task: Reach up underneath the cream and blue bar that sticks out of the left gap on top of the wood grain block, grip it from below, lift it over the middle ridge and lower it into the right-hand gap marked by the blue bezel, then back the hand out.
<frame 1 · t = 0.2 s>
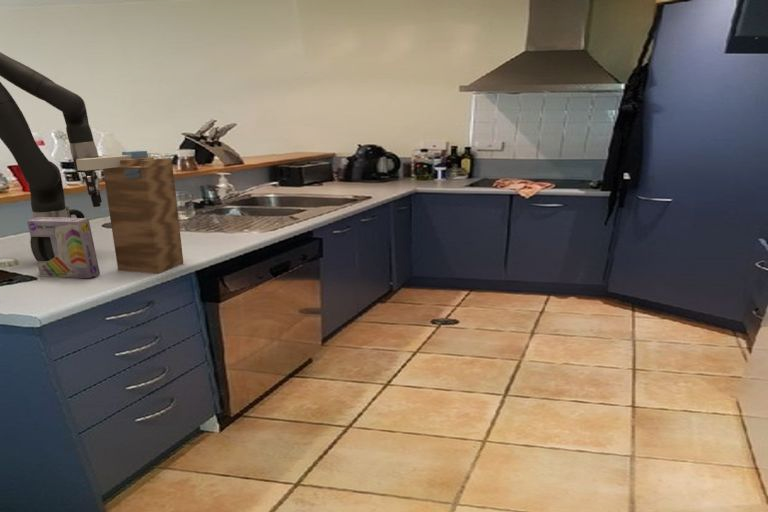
hand: (97, 204, 171), 18 cm above the countertop, tool pointing down, fingers open, 8 cm apart
milk frother: (61, 245, 191), on the countertop
cake pan box: (68, 276, 153), on the countertop
wood grain block: (151, 266, 161), on the countertop
cream and blue bar: (116, 166, 150), point 32 cm above the countertop, touching wood grain block
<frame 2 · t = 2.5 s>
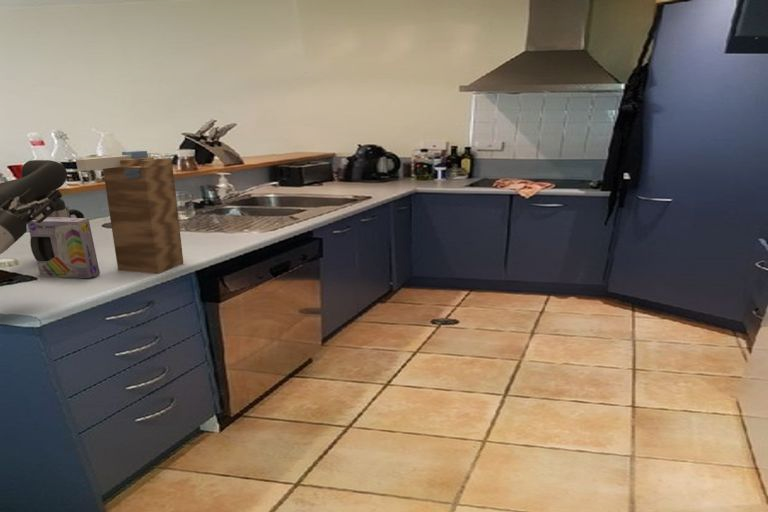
hand: (46, 191, 129), 28 cm above the countertop, tool pointing upward, fingers open, 8 cm apart
nothing on the countertop moved.
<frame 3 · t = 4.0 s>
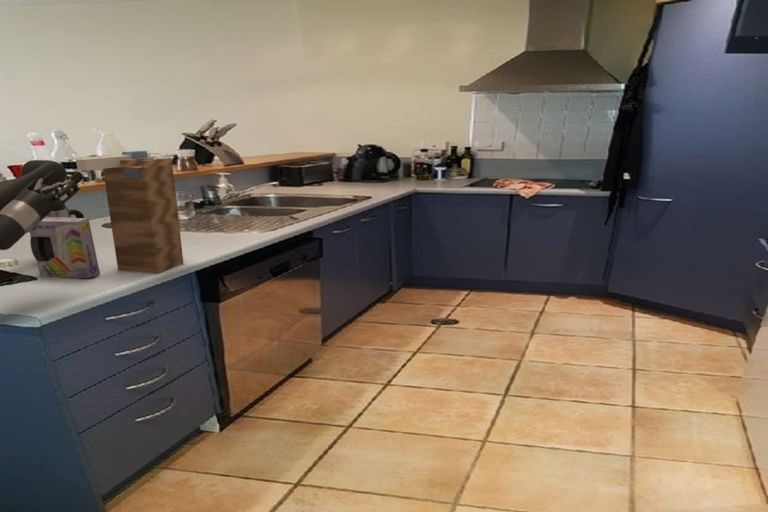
hand: (68, 174, 135), 31 cm above the countertop, tool pointing upward, fingers open, 8 cm apart
nothing on the countertop moved.
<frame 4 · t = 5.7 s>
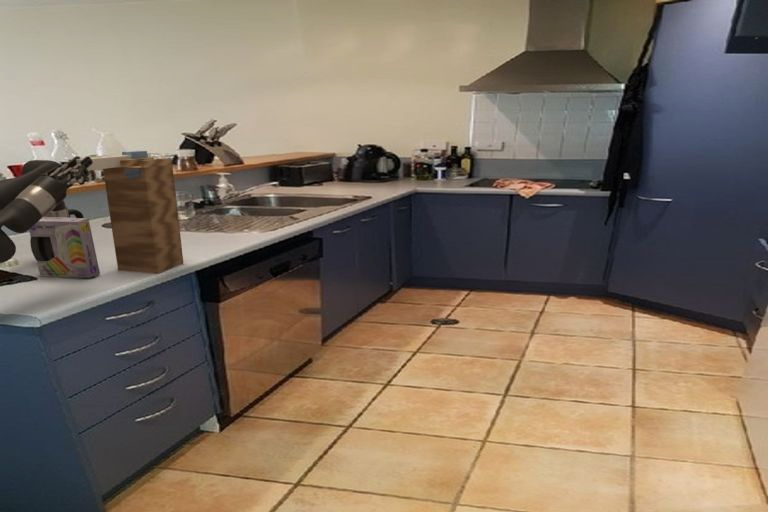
hand: (84, 159, 139), 35 cm above the countertop, tool pointing upward, fingers closed on cream and blue bar, 3 cm apart
cream and blue bar: (116, 166, 150), point 32 cm above the countertop, touching wood grain block, gripper
everything else where it was.
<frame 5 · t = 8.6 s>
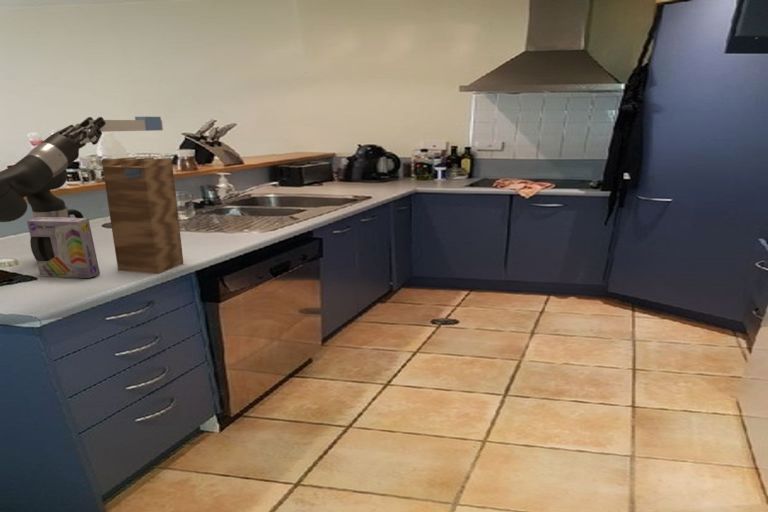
hand: (97, 120, 134), 45 cm above the countertop, tool pointing upward, fingers closed on cream and blue bar, 3 cm apart
cream and blue bar: (129, 130, 145), point 42 cm above the countertop, touching gripper
everything else where it was.
when the fingers open (36 cm above the countertop, at t = 11.1 s): cream and blue bar drops 1 cm, resting on wood grain block.
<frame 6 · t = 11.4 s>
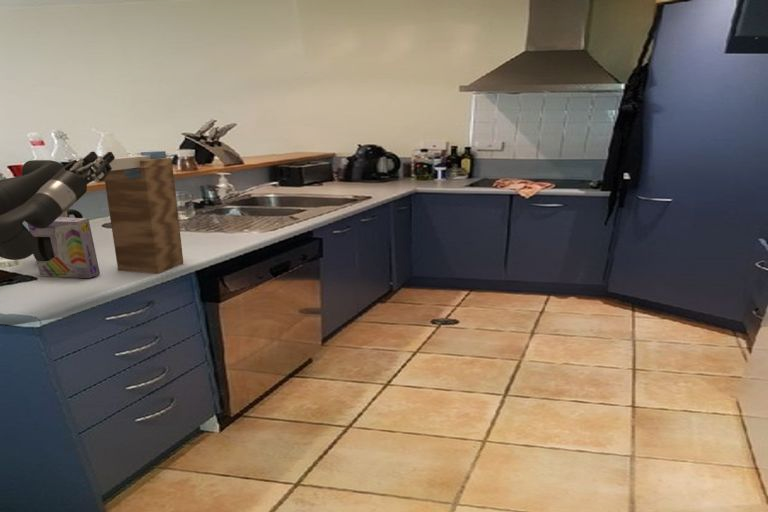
hand: (103, 154, 137), 36 cm above the countertop, tool pointing upward, fingers open, 5 cm apart
cream and blue bar: (135, 167, 148), point 32 cm above the countertop, touching wood grain block
everything else where it was.
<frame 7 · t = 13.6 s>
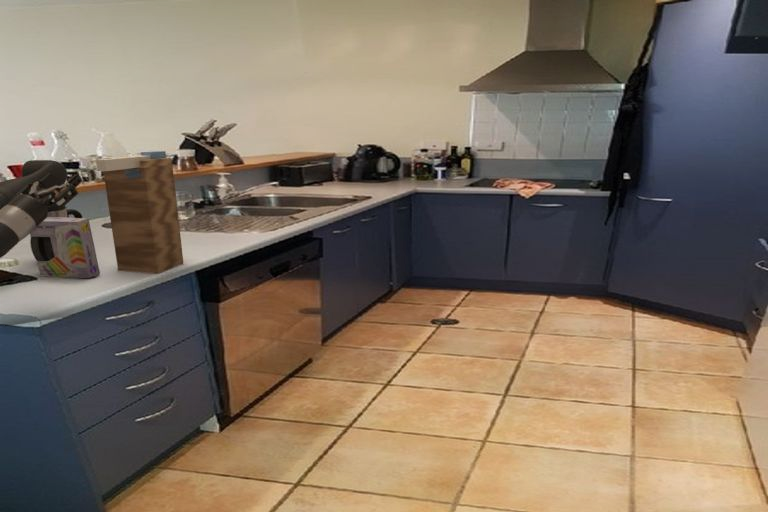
hand: (65, 176, 127), 32 cm above the countertop, tool pointing upward, fingers open, 8 cm apart
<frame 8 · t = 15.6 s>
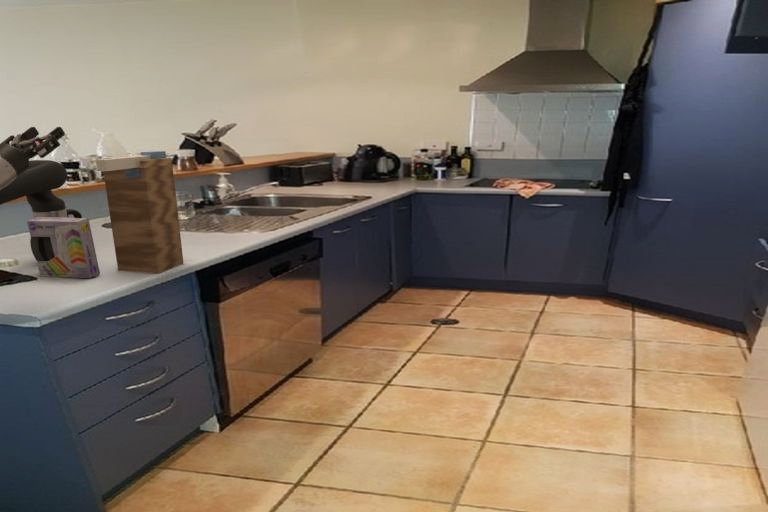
hand: (48, 130, 126), 43 cm above the countertop, tool pointing upward, fingers open, 8 cm apart
at the end: cream and blue bar inside the target area (1.4 cm from its centre), point 32.0 cm above the countertop; cream and blue bar tilted 0°; the gripper is holding nothing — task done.
